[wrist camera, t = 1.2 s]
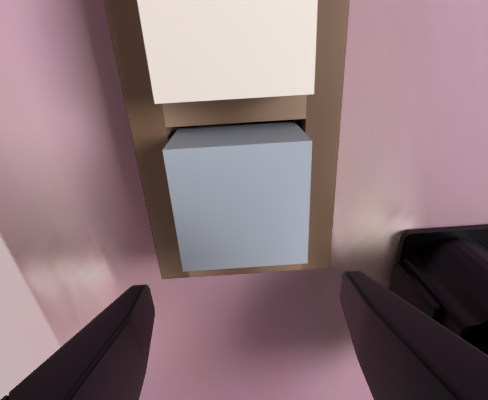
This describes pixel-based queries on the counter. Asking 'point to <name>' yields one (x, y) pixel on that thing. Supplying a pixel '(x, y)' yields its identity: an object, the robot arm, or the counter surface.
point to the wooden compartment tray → (233, 111)
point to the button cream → (229, 48)
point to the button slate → (240, 195)
